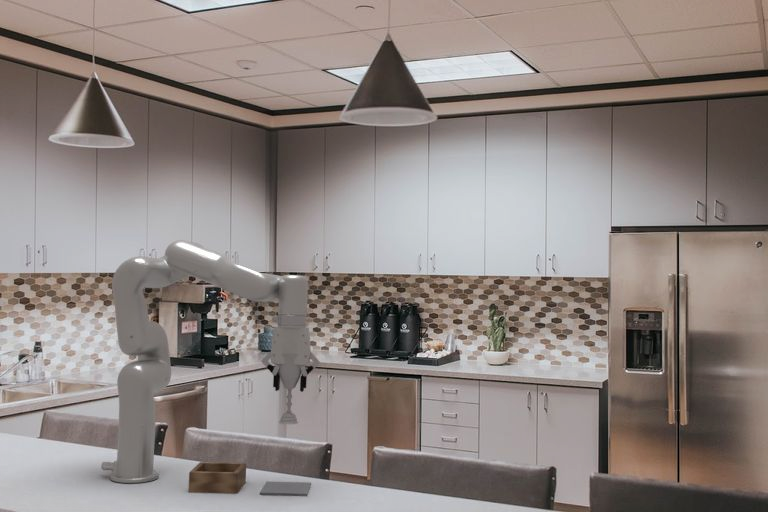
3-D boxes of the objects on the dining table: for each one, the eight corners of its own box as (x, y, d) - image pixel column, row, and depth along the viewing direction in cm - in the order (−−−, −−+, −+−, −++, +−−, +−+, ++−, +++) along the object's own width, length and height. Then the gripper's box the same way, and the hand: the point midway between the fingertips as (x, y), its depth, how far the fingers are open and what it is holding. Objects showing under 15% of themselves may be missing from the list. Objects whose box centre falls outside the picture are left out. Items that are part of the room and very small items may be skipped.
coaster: (259, 494, 195) (259, 492, 195) (266, 483, 207) (266, 481, 207) (306, 496, 195) (307, 493, 195) (311, 484, 207) (311, 482, 207)
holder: (188, 492, 196) (189, 472, 196) (199, 480, 208) (200, 462, 208) (237, 493, 196) (238, 473, 196) (245, 482, 208) (246, 463, 208)
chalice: (296, 425, 198) (299, 355, 199) (271, 424, 199) (274, 353, 200) (305, 421, 205) (307, 353, 206) (280, 419, 206) (283, 352, 207)
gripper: (257, 321, 200) (254, 391, 199) (323, 323, 200) (321, 393, 199) (261, 320, 207) (259, 388, 206) (325, 322, 207) (323, 390, 206)
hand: (289, 390), depth 202 cm, fingers closed on chalice, 5 cm apart
